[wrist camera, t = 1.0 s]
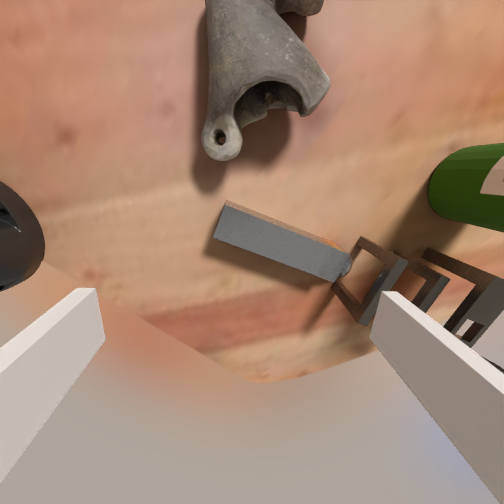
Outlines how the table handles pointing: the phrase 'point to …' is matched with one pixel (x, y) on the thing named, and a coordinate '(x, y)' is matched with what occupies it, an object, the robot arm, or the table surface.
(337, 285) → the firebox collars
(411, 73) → the table surface
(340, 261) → the grey sharpening stone
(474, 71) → the table surface
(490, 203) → the wine bottle
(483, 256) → the table surface
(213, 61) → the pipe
